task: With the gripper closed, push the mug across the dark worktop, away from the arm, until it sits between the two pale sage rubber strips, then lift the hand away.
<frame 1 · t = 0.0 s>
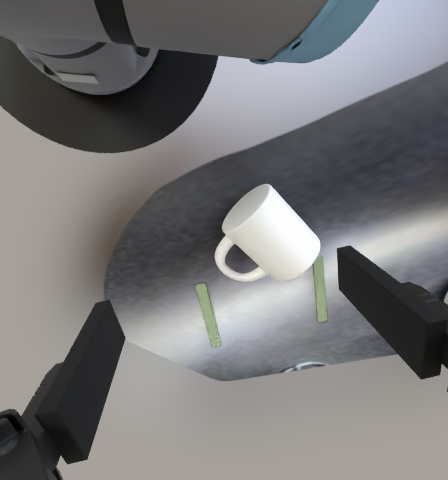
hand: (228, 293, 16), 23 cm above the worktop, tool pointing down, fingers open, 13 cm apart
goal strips: (264, 302, 44), on the worktop
mug: (252, 233, 40), on the worktop
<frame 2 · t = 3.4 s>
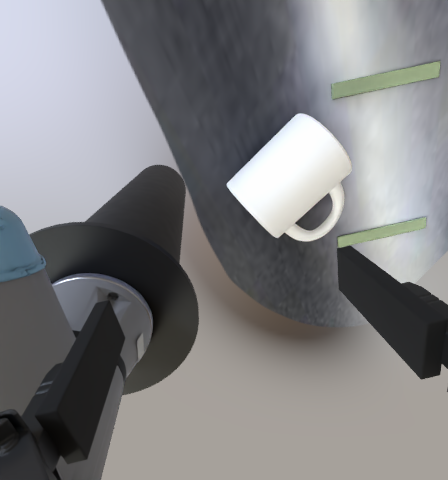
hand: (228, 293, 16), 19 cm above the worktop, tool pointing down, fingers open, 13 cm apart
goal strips: (382, 164, 34), on the worktop
mug: (285, 184, 34), on the worktop
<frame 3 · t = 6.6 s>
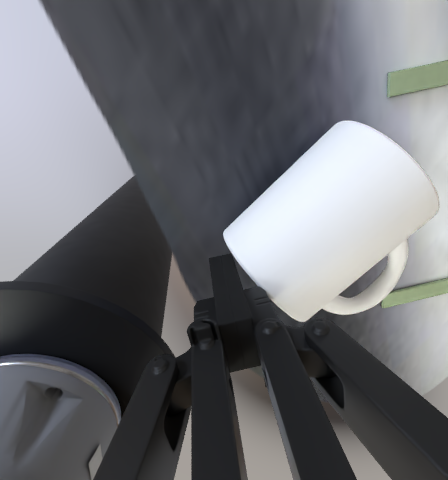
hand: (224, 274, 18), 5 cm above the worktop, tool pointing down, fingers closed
mug: (311, 224, 23), on the worktop, touching gripper
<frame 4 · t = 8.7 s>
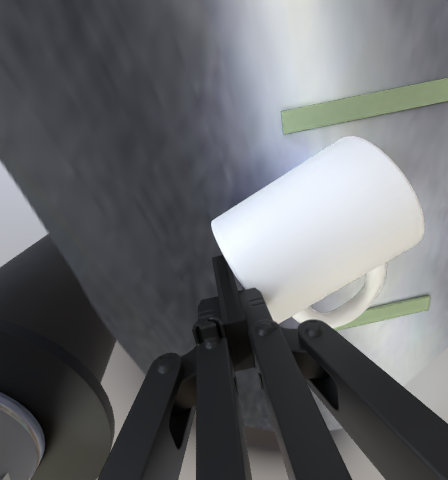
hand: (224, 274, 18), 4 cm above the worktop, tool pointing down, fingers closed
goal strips: (365, 225, 23), on the worktop
mug: (298, 235, 23), on the worktop, touching gripper
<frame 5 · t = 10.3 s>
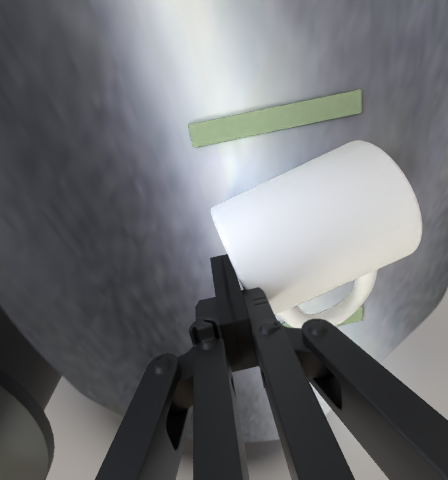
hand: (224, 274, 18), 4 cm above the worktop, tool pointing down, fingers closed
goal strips: (289, 237, 23), on the worktop
mug: (292, 235, 23), on the worktop, touching gripper
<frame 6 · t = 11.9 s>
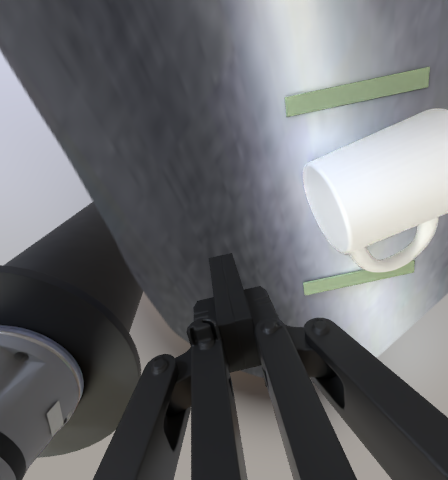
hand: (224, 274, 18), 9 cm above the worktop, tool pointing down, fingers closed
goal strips: (357, 196, 27), on the worktop
mug: (360, 195, 27), on the worktop
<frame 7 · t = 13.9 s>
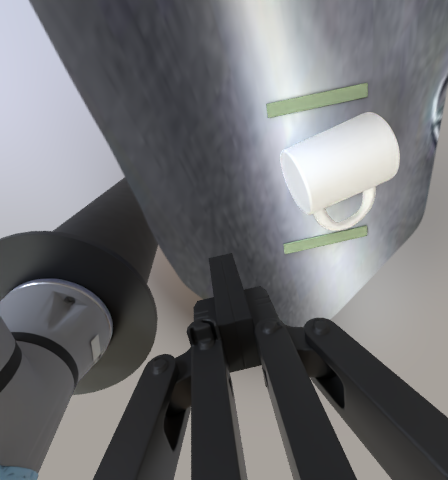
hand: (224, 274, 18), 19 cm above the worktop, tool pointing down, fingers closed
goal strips: (321, 176, 36), on the worktop
mug: (323, 176, 37), on the worktop
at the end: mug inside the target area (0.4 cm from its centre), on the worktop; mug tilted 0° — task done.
